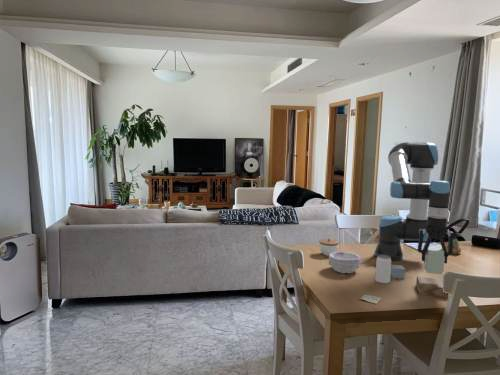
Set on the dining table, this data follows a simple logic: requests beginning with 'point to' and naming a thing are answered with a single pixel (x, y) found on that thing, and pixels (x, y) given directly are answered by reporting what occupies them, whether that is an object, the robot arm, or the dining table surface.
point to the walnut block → (430, 286)
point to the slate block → (397, 271)
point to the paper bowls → (344, 261)
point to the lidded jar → (328, 246)
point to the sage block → (435, 260)
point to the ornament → (455, 247)
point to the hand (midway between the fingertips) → (433, 269)
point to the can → (383, 269)
